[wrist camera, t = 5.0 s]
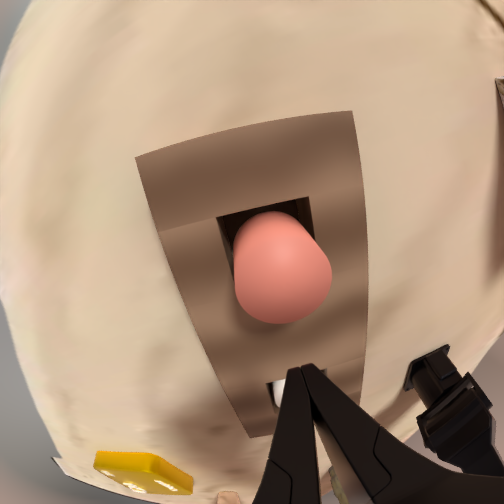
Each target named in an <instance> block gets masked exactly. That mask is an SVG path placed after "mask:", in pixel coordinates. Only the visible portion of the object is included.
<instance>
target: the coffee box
mask: <svg viewBox="0 0 504 504" xmlns="http://www.w3.org/2000/svg"><path fill="white" fill-rule="evenodd" d="M495 81H496V84H497V87H498V90H499V94H500V97H501V100H502V104H503V107H504V76H503V77H498V78H495Z"/></svg>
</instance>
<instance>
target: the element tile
mask: <svg viewBox="0 0 504 504" xmlns="http://www.w3.org/2000/svg"><path fill="white" fill-rule="evenodd" d="M93 467H94V469H95V470H97V471H99V472H100V473H102V474H104V475H105V476H107V477H109V478H111V479H112V480H114V481H116V482H118V483H120V484H122V485H123V486H125V487H127V488H129V489H131V490H133V491H135V492H139V493H149V494H165V495H191V494H193V477H192V476H190V475H188V474H186V473H185V472H183V471H181V470H180V469H178V468H177V467H175V466H173V465H172V464H170V463H169V462H167V461H166V460H164V459H163V458H161V457H159V456H157V455H155V454H151V453H139V452H111V451H97V453H96V457H95V461H94V465H93Z"/></svg>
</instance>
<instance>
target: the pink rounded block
mask: <svg viewBox="0 0 504 504" xmlns="http://www.w3.org/2000/svg"><path fill="white" fill-rule="evenodd" d="M233 257H234V279H235V292H236V296H237V299H238V301H239V303H240V305H241V306H242V308H243V309H244V310H245V311H246V312H247V313H248V314H249V315H251V316H252V317H254V318H256V319H258V320H260V321H263V322H267V323H273V324H284V323H290V322H294V321H297V320H300V319H302V318H304V317H306V316H308V315H309V314H311V313H312V312H314V311H315V310H316V309H317V308H318V307H319V306H320V305H321V304H322V302H323V301H324V300H325V298H326V296H327V295H328V292H329V290H330V287H331V282H332V270H331V266H330V262H329V260H328V258H327V257H326V255H325V254H324V252H323V251H322V250H321V249H320V247H319V246H318V245H317V243H316V242H315V241H314V240H313V238H312V237H311V236H310V235H309V233H308V232H307V231H306V230H305V228H304V227H303V226H302V225H301V223H300V222H299V221H298V220H297V219H295V218H294V217H292V216H291V215H289V214H286V213H283V212H278V211H268V212H262V213H259V214H257V215H254V216H253V217H251V218H249V219H248V220H247V221H246V222H245V223H244V224H243V225H242V226H241V227H240V228H239V230H238V232H237V234H236V236H235V239H234V243H233Z"/></svg>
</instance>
